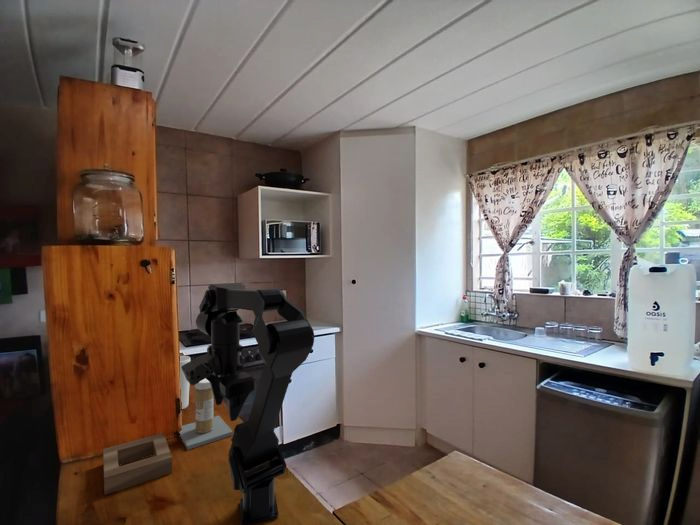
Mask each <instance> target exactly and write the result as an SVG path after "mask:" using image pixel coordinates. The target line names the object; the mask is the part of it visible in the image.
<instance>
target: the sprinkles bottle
mask: <svg viewBox="0 0 700 525" xmlns="http://www.w3.org/2000/svg"><path fill="white" fill-rule="evenodd" d="M194 388H195V413H194V414H195V418H194V419H195V422H196V428H195V431H196V432H197V433H207V432H209V431H211V430H212V429H213V427H214V426H213V417H214V395H213V392H212V388H211V385H210V382H209V381H208V380H207V379H206V378H205V379H203V380H201V381H199V383H197V384H195V385H194Z"/></svg>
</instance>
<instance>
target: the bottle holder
mask: <svg viewBox="0 0 700 525" xmlns="http://www.w3.org/2000/svg"><path fill="white" fill-rule="evenodd" d="M102 451H103V456H102V457H103V489H104V490H103V493H104V495H103V496H107V495H109V494H113V493H116V492H118V491H122V490H125V489H127V488H128V489H129V488H130V487H133V486H137V485H139V484H143V483H145V482H148V481H152V480H155V479H158V478H162V477H164V476H166V475H169V474H172V473H173V456H172V452H171V450H170V447H169V444H168V442H167V439H166V436H165V433H164V432H161V433H157V434H153V435H151V436H147V437H143V438H139V439H135V440H131V441H129V442H125V443H121V444H117V445H114V446H109V447H105V448H103V450H102ZM150 455H154V456H150ZM146 456H149V457H146ZM143 457H146V458H143ZM141 458H143V459H141ZM138 459H139V460H138ZM134 460H136V461H134ZM131 461H133V462H131ZM127 462H129V463H127ZM124 463H126V464H124ZM120 464H122V465H120Z"/></svg>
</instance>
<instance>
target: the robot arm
mask: <svg viewBox="0 0 700 525" xmlns="http://www.w3.org/2000/svg"><path fill="white" fill-rule="evenodd" d="M198 309H199V313H198V315H197V317H196V319H195V324H196V328H197V329H198V330H199V331H200V332H202V333H204V334H206V335H208V336H210V338H211V340H210V343H211V345H208V346H207V348H206V349H207V350H206V353H204V354H203V355H200V356H198V357H195V358H194V359H192V360H191V361H190V362H188V363H186V364H184V365H183V366H182V367H181V368H182V371H183V373H184V375H185V377H186V380H187V381H188V382H189V383H190V385H191V386H195V384H197V383H199V381H201V380H203V379H205V378H206V379H207V380H208V381H209V382H210V385H211V388H212V392H213V400H214V402H215V405H216V406H220V405H222V403H223V400H224V398H225V399H226V402H227V409H228V415H229V419H230V421H231V422H235V421H237V419H238V417H239V415H240V414H241V411H242V409H243V406H244V405H245V402H246V401H247V400H248V397H249V395H250V394H251V393H252V392H253V391H256V392H255V396H254V400H253V403H252V406H251V409H250V414H249V417H248V420H246V421H243V422H241V423H238V424H236V425H235V426H234V429H233V435H232V437H231V438H230V441H231V444H230V448H229V451H228V455H227V456H228V463H229V464H228V465H229V470H230V477H231V479H232V481H231V482H232V489H233V490H234V491H240V492H241V493H242V498H240V500H239V502H240V503H239V504H240V505H239V506H240V525H251V524H255V523H259V522H264V521H268V520H273V519H277V518H278V517H279V510H278V503H277V498H276V492H275V482H276V481H275V478H277V477H279V476H280V475H284V474H286V470H287V463H286V459H285V457H284V455H283V452H282V450H281V447H280V444H279V443H280V439H279V438H278V436H277V433H275V428H276V424H277V422H278V420H279V415H280V412H281V409H282V406H283V403H284V401H285V396H286V393H287V391H288V388H289V386H290V381H291V377H292V376H293V374H294V372H295V371H296V370H297V369H298V368H299V367H300V366H301V365H302V364H303V363H304V362H305V361H306V360H307V358H308V356H309V355H310V353H311V351H312V349H313V346H314V343H315V332H314V329H313V327H312V326H311V323H310V322H309V320H308V318H307V317H306V315H305V312H303V310H302V309H300V308H299V307H298V306H296V305H295V304H294V303H292V302H291V301H290V300H289V299H288V298H287V297H286V294H285V293H284V291H283V290H282V289H279V288H275V287H274V288H263V289H262V288H246V285H244V284H242V283H240V282H231V283H230V282H229V283H228V282H227V283H213V284H211V283H210V284H209V286H208V287H207V289H206V290H205V292H204V296H203V297H202V300H201V302H200V304H199V307H198ZM239 310H244V311H245V310H246V311H252V312H253V314H254V321H253V325H252V333H253V336H254V339H255V340H256V343H257V345H258V348H257V351H258V354H259V355H260V358H261V360H262V361H263V367H262V371H261V374H260V378H259V382H258V385H257V379H255V378H254V377H253V376H252V375H250V374H249V373H247V372H246V371H242V370H243V364H242V363H240V352H242V351H244V349H243V348H244V347H243V345H241V344H240V323H243V318H242V317H241V316H240V315H239V313H238V312H237V311H239ZM269 312H277V313H278V315H279V316H281V317H282V318H283V319H284V320H285V321H278V322H272V323H268V324H266V322H265V320H264V319H263V314H264V313H269ZM238 371H242V372H238Z"/></svg>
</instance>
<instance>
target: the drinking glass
mask: <svg viewBox="0 0 700 525" xmlns="http://www.w3.org/2000/svg"><path fill="white" fill-rule="evenodd" d="M179 356H180V389H181V402H182V410H184V409H186V408H188V406H189V404H190V403H189V396H190V383H189V382H188V381H187V380H186V377H185V375H184V373H183V371H182V368H181V367H182V366H183V365H184V364H186V363H188V362H190V361H192V360H191V357H190V356H189V355H179Z"/></svg>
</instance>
